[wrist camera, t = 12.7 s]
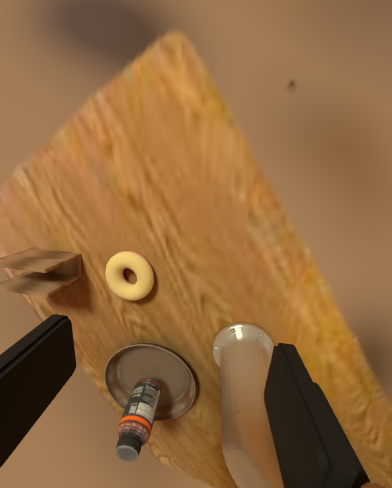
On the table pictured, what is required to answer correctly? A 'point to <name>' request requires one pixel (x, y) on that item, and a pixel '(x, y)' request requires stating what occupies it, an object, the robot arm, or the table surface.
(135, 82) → the table surface
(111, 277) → the donut
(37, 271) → the napkin holder
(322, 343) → the table surface
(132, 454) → the supplement bottle
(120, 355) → the plant saucer
